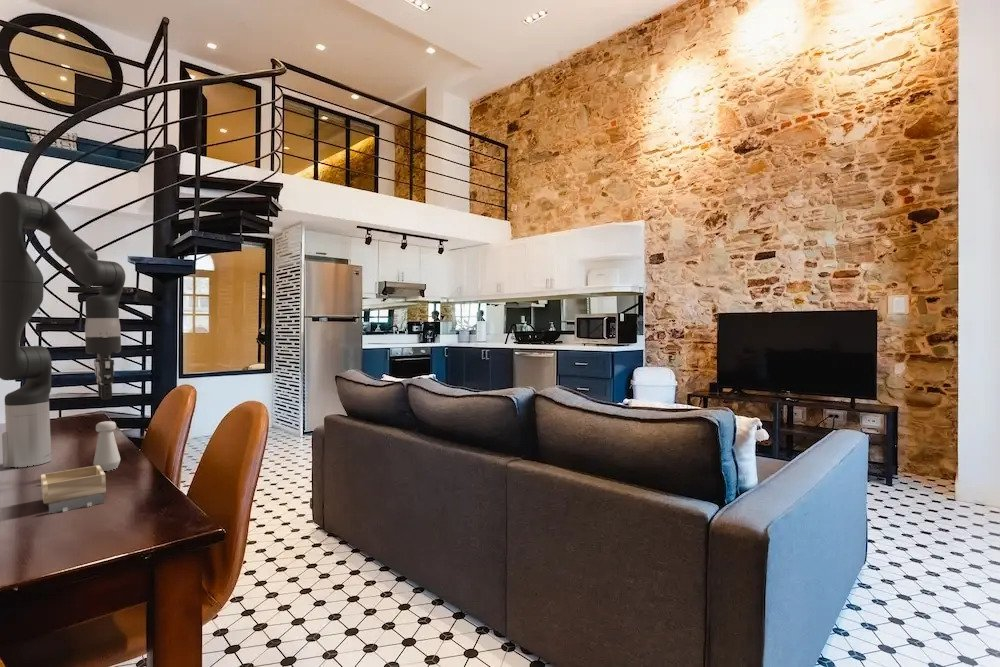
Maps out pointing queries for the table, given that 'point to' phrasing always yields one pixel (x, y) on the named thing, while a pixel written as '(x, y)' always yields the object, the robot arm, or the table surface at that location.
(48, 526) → the table surface
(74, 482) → the wooden tray
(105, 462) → the salt shaker
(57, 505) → the rail
